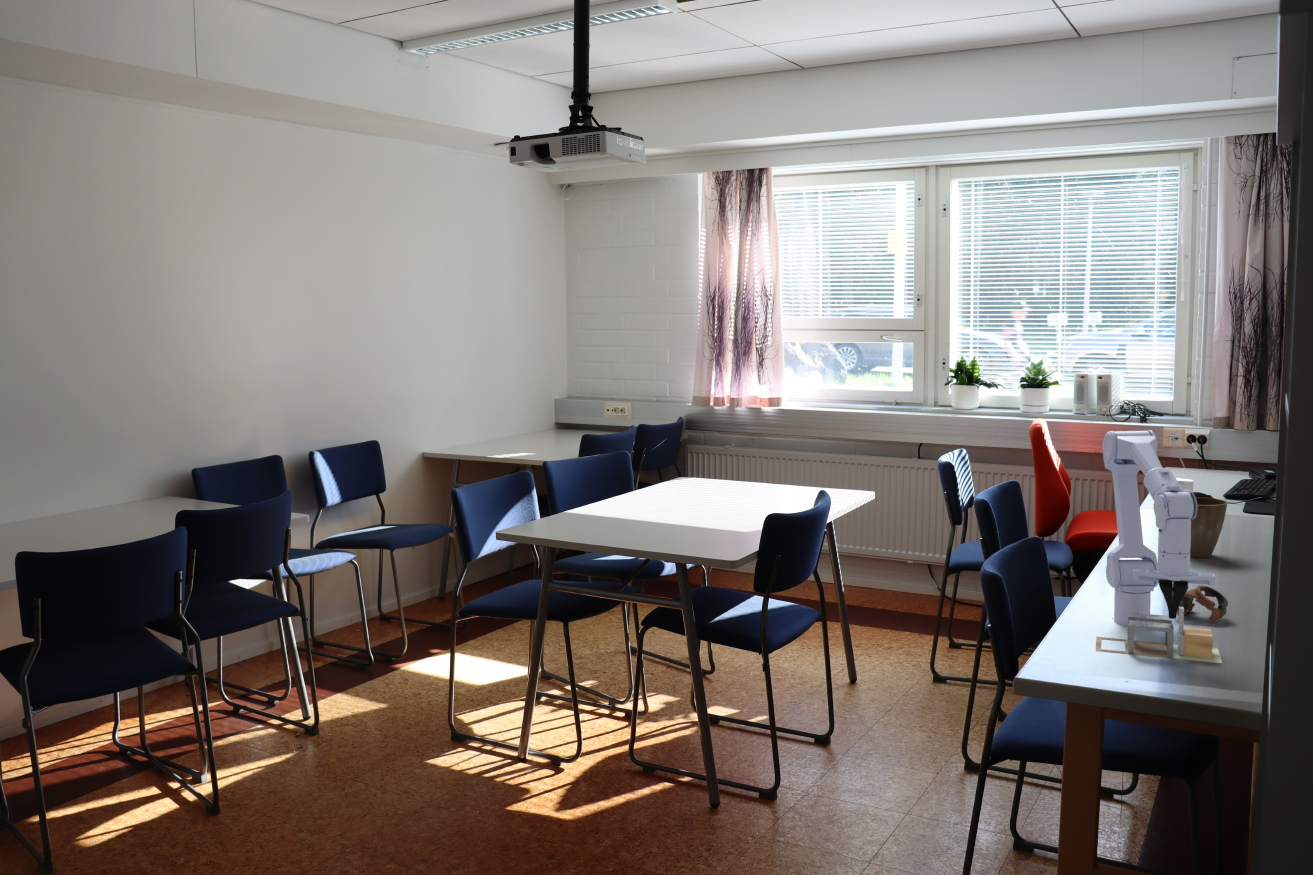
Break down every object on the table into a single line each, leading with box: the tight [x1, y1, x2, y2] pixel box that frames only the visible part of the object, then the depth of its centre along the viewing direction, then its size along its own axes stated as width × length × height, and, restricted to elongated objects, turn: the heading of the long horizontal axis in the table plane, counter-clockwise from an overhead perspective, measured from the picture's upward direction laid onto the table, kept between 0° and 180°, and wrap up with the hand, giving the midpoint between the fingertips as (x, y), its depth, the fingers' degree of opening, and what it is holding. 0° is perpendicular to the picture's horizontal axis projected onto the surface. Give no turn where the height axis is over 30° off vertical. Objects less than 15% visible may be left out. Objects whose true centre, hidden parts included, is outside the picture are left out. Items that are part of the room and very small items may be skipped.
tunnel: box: [1127, 613, 1175, 659], centre depth 201 cm, size 9×8×6 cm
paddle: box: [1176, 607, 1185, 655], centre depth 198 cm, size 6×1×9 cm, turn 155°
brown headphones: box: [1177, 584, 1229, 623], centre depth 226 cm, size 12×10×8 cm
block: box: [1183, 626, 1214, 658], centre depth 197 cm, size 5×5×4 cm
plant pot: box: [1190, 496, 1228, 559], centre depth 285 cm, size 15×15×16 cm
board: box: [1095, 636, 1223, 664], centre depth 201 cm, size 10×22×2 cm, turn 65°
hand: (1172, 617), depth 199 cm, fingers closed
